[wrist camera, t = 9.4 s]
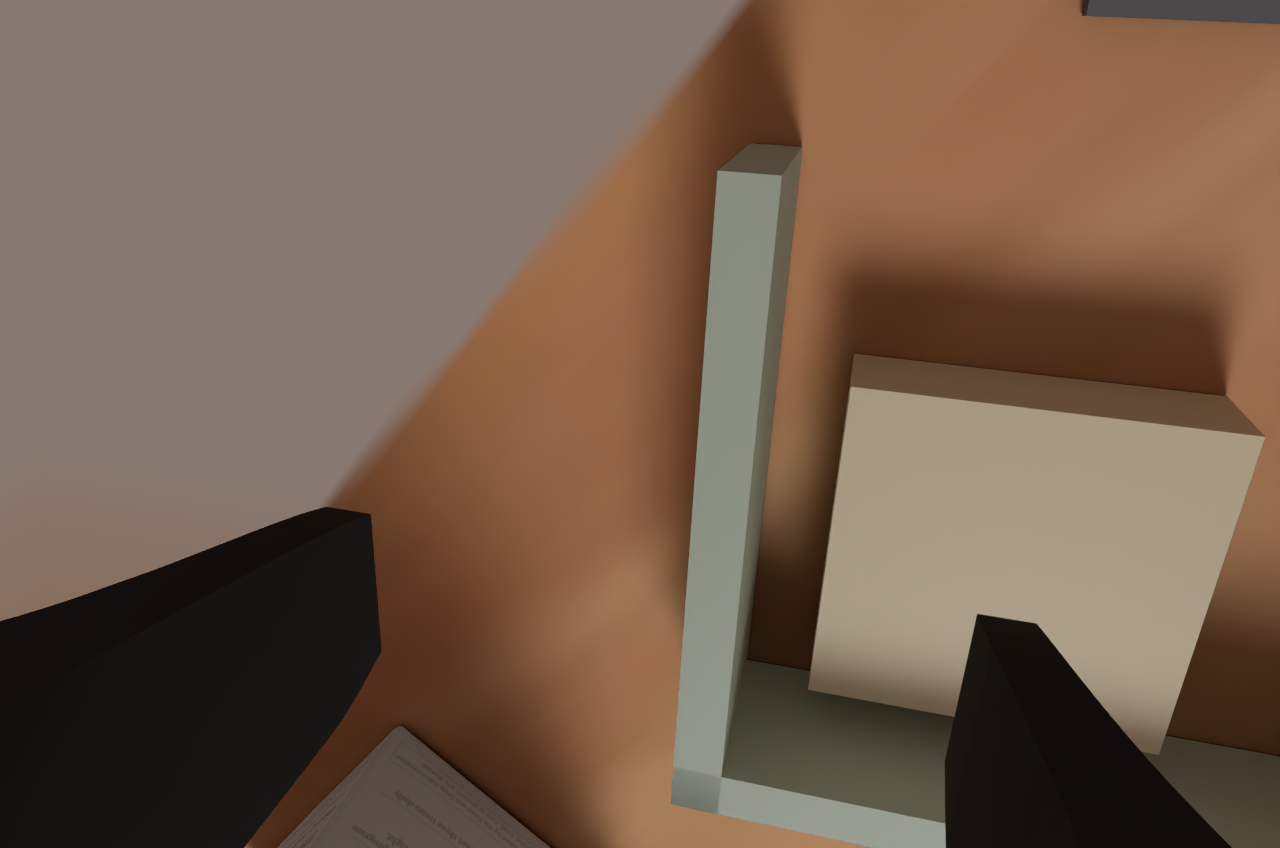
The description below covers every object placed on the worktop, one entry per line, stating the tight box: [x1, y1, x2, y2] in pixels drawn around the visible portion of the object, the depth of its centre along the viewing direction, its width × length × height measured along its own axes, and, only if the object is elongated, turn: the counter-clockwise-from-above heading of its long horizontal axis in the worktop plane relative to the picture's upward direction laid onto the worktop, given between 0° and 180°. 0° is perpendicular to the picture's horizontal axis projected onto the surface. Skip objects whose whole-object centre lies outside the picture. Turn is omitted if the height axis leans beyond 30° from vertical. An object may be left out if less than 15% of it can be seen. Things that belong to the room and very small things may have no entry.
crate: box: [671, 143, 1280, 848], centre depth 18 cm, size 15×13×4 cm
